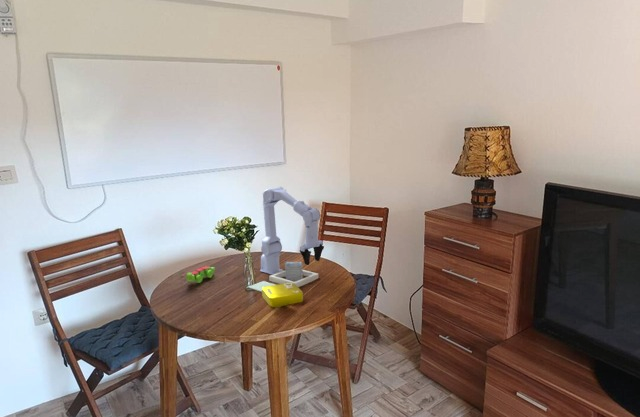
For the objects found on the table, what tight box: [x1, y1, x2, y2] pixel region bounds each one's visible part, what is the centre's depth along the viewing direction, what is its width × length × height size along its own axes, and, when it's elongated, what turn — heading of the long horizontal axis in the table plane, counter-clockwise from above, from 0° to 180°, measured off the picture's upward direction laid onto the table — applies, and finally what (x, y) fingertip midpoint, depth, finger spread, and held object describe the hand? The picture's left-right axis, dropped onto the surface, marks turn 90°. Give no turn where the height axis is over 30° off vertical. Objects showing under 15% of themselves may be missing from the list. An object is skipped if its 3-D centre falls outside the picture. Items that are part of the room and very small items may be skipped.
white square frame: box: [268, 269, 319, 288], centre depth 212 cm, size 17×17×2 cm
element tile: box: [261, 283, 304, 308], centre depth 189 cm, size 15×15×5 cm
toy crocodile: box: [185, 266, 216, 284], centre depth 214 cm, size 20×7×6 cm, turn 155°
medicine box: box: [284, 261, 304, 282], centre depth 211 cm, size 8×4×9 cm, turn 84°
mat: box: [247, 280, 276, 293], centre depth 203 cm, size 10×10×1 cm
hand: (312, 262), depth 205 cm, fingers open, 7 cm apart
